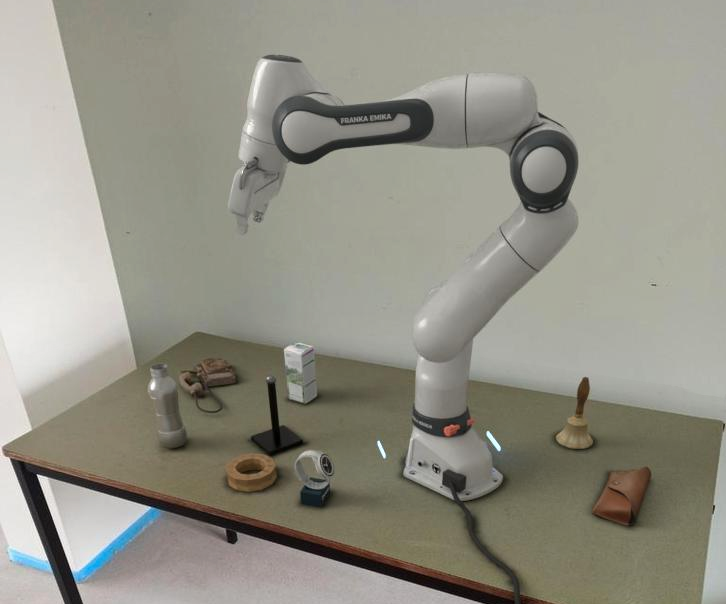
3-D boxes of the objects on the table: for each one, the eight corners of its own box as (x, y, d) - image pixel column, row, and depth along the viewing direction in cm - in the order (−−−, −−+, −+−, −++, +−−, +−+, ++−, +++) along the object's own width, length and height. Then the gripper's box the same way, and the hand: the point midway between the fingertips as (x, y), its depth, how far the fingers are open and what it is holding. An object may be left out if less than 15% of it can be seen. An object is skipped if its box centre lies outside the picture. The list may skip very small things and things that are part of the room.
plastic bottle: (181, 452, 155) (166, 373, 144) (154, 450, 156) (137, 371, 146) (192, 438, 161) (179, 361, 150) (166, 436, 162) (151, 359, 151)
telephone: (194, 420, 168) (192, 405, 166) (173, 370, 194) (171, 356, 191) (253, 411, 173) (252, 396, 171) (224, 364, 199) (223, 350, 197)
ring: (285, 480, 145) (284, 468, 143) (241, 497, 140) (239, 485, 138) (261, 459, 152) (260, 448, 151) (218, 475, 147) (217, 463, 145)
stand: (303, 444, 158) (298, 376, 148) (269, 456, 153) (262, 387, 144) (283, 429, 164) (277, 363, 155) (251, 440, 160) (243, 373, 150)
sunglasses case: (608, 469, 146) (630, 450, 141) (634, 490, 145) (657, 471, 141) (590, 513, 132) (613, 494, 128) (618, 536, 132) (642, 518, 127)
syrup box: (317, 396, 179) (314, 345, 171) (304, 405, 175) (301, 353, 167) (300, 391, 181) (297, 340, 173) (287, 399, 177) (282, 348, 169)
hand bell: (558, 429, 162) (568, 368, 153) (594, 435, 159) (606, 373, 151) (553, 446, 155) (563, 383, 147) (590, 452, 153) (603, 388, 144)
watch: (329, 509, 136) (327, 463, 130) (293, 502, 138) (289, 457, 132) (338, 494, 140) (337, 449, 134) (303, 487, 142) (299, 443, 136)
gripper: (261, 170, 114) (246, 247, 122) (295, 150, 131) (280, 220, 139) (226, 157, 114) (214, 235, 122) (265, 139, 131) (251, 209, 139)
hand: (249, 227), depth 130 cm, fingers open, 8 cm apart
